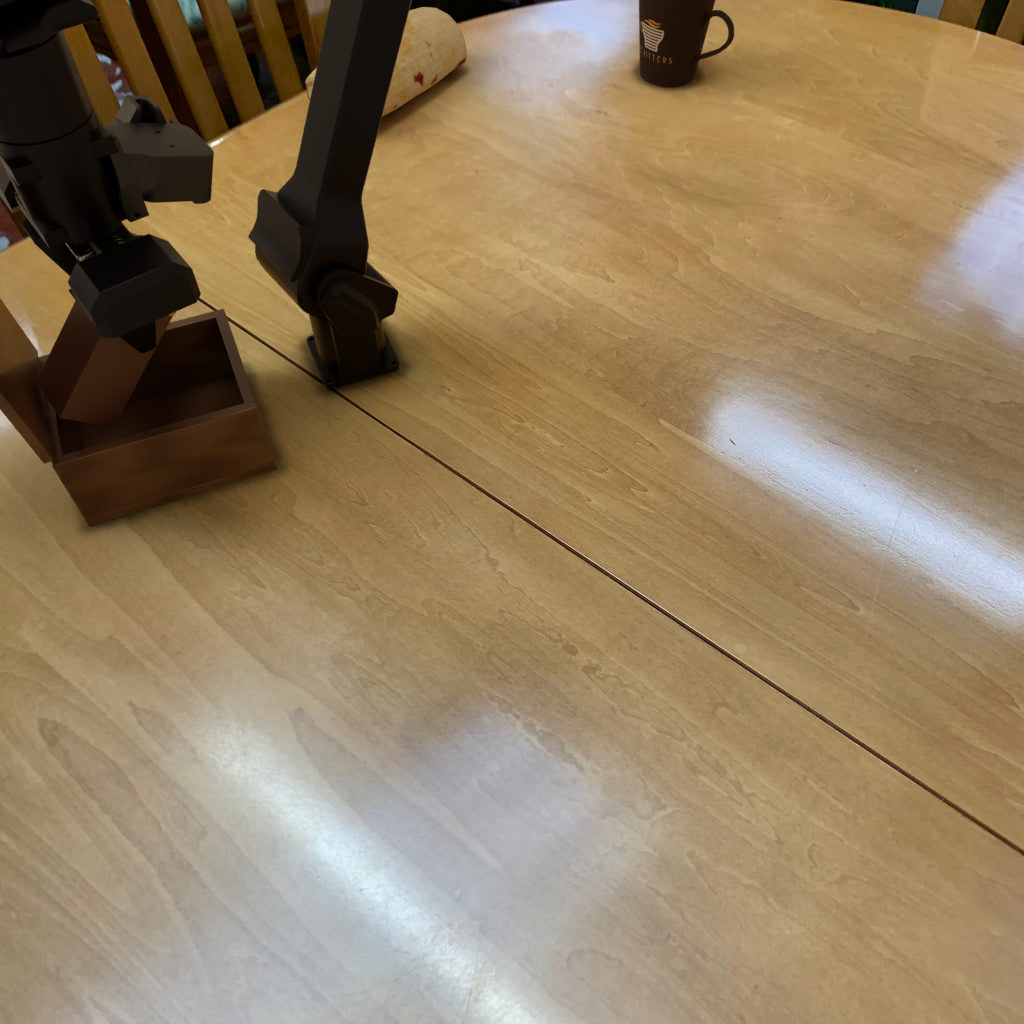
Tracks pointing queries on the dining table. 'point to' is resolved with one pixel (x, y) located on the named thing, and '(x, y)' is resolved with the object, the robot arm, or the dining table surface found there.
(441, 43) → the food model
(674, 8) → the coffee mug
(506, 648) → the dining table surface
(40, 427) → the chest lid
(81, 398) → the chocolate box
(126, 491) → the chest
